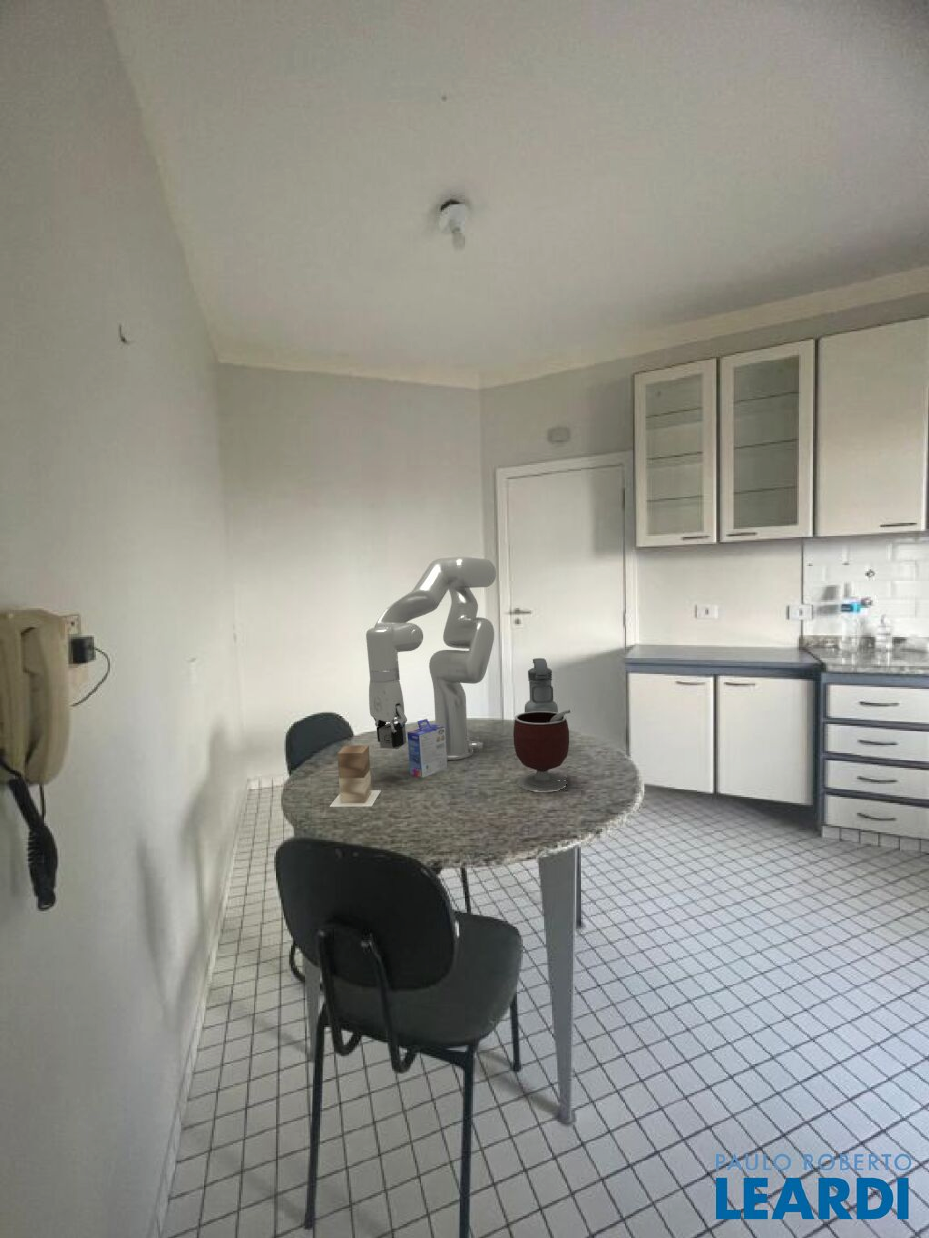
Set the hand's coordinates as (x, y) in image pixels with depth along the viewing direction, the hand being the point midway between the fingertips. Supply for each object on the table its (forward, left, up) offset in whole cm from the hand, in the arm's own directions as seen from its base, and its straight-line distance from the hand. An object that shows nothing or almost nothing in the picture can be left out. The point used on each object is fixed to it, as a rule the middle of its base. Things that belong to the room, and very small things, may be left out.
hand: (390, 742), depth 143 cm
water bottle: (-40, -23, -11) cm, 48 cm away
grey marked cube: (-1, 0, -1) cm, 1 cm away
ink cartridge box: (-8, -8, -11) cm, 16 cm away
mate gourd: (-39, +2, -11) cm, 41 cm away
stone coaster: (+7, +11, -11) cm, 17 cm away
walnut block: (+7, +11, -4) cm, 14 cm away
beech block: (+7, +11, -10) cm, 16 cm away
